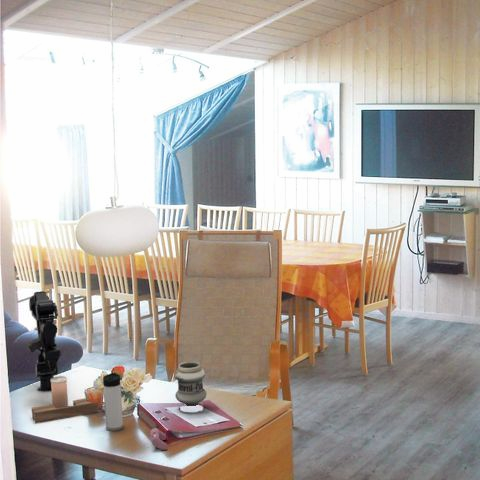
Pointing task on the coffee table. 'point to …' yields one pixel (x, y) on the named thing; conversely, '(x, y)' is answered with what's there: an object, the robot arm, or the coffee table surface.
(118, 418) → the travel mug
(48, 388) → the robot arm
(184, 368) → the apothecary jar
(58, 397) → the pink cylinder
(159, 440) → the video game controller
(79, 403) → the bar
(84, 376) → the coffee table surface
